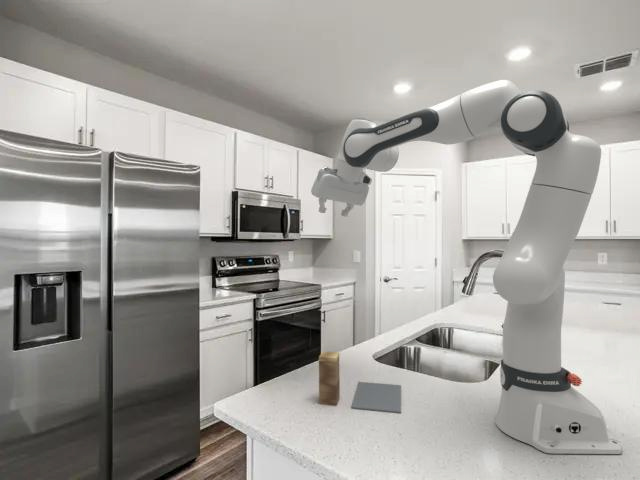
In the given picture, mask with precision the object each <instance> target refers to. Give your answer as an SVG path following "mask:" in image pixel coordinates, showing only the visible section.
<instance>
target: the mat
mask: <svg viewBox="0 0 640 480" xmlns="http://www.w3.org/2000/svg"><path fill="white" fill-rule="evenodd" d="M350 408H351V409H353V410H363V411H364V410H365V411H371V412H374V411H375V412H384V413H395V414H401V413H402V385H401V384H393V383H381V382H380V383H377V382H367V381H358V383H357V386H356V389H355V393H354V396H353V399H352V403H351V405H350Z"/></svg>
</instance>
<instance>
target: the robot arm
mask: <svg viewBox="0 0 640 480" xmlns="http://www.w3.org/2000/svg"><path fill="white" fill-rule="evenodd" d="M496 131H497V132H498V131H499V132H500V131H501V132H502V133H503V135H504V136H505V138H506V139H507V140H508V141H509V142H510V143H511V144H512V146H513V147H515V148H516V150H519V151H520V152H523V153H524V154H525V155H528V156H531V157H535V158H536V159H535V160H536V166H535V167H536V168H535V171H534V175H533V178H532V180H531V184H530V186H529V189H528V192H527V195H526V198H525V202H524V205H523V206H522V207H523V208H522V211H521V214H520V216H519V219H518V221H517V224H516V225H515V228H514V230H513V232H512V234H511V236H510V238H509V239H508V242H507V244H506V247H504V251H503V253H502V254H501V258H500V261H499V262H498V264H497V266H496V267H495V269H494V271H493V273H492V274H493V275H492V282H493V288H494V289H495V291H496V293H498V295H499V296H500V297H501V298H502V299H503V300H505V301H507V305H506V311H505V312H506V313H505V317H504V321H503V324H502V359H501V360H500V369H499V372H500V373H499V375H500V377H499V378H500V384H501V395H500V399H499V407H498V410H497V413H496V415H495V420H494V422H495V425H496V426H497V428H498V429H499V430H500V431H502V432H503V433H505V434H506V435H508V436H509V437H511V438H513V439H515V440H518V441H521V442H523V443H525V444H527V445H530V446H532V447H534V448H535V449H536V450H539V451H541V452H543V453H546V454H559V455H560V454H561V455H563V454H566V455H567V454H569V455H570V454H571V455H572V454H575V455H622V453H623V445H622V442H621V441H620V439H619V438H618V437H617V436H616V434H615V433H613V431H612V430H610V429H609V427H608V428H607V424H606V420H605V417H604V414H603V413H602V412H601V410H600V408H599V407H598V406H596V405H595V404H594V403H593V402H592V401H591V400H590V399H588V398H587V397H586V396H584V395H583V394H582V393H580V392H579V391H578V390H577V389H576V388H574V387H580V386H581V385H583V384H582V382H583V381H582V378H580V377H579V376H578V375H577V374H575V373H572V372H570V371H569V370H567V369H566V368H564V367H562V326H563V325H562V323H563V314H564V304H565V301H564V300H565V286H566V285H565V283H566V274H565V268H564V265H565V262H566V260H567V257H568V255H569V253H570V251H571V249H572V246H573V245H574V242H575V240H576V239H577V236H578V234H579V232H580V229H581V227H582V223H583V221H584V218H585V215H586V213H587V210H588V207H589V204H590V201H591V199H592V197H593V192H594V190H595V187H596V184H597V180H598V176H599V171H600V166H601V159H602V148H601V146H600V144H599V143H598V142H597V141H596V140H595V139H593V138H590V137H589V136H586V135H581V134H576V133H575V134H574V133H571V132H570V125H569V122H568V120H567V113H566V112H565V110H564V108H563V106H562V105H561V103H560V102H559V100H558V99H557V98H556V97H555V96H553V94H550V93H548V92H547V91H545V90H544V91H543V90H537V89H532V90H531V89H530V90H527V91H523V92H521V91H520V89H519V88H518V87H517V85H515V83H514V82H513V81H510V80H508V79H499V80H495V81H492V82H488V83H485V84H482V85H479V86H477V87H474V88H472V89H469V90H467V91H464V92H462V93H460V94H458V95H456V96H453V97H452V98H448V99H447V100H445V101H442V102H440V103H437V104H435V105H432V106H429V107H426V108H423V109H421V110H417V111H414V112H410V113H408V114H406V115H405V114H404V115H403V116H401V117H398V118H395V119H392V120H390V121H388V122H385V123H383V124H380V125H378V126H377V124H376V122H374V121H372V120H368V119H365V118H355V119H352V120H351V121H350V122H349V124H348V126H347V128H346V130H345V132H344V135H343V138H342V140H341V144H340V151H339V153H338V155H337V157H336V158H335V162H334V165H333V168H332V167H331V168H329V167H328V166H324V167H322V168H320V169H319V170H318V171H317V176H316V177H315V180H314V182H313V184H312V187H311V190H310V192H311V195H313V196H314V197H316V198H318V204H319V208H318V212H319V213H321V214H326V211H327V207H326V206H325V203H326V202H327V201H328V200H329V201H334V202H339V203H345V204H346V207H345V208H344V209H342V210H341V212H340V215H341V216H342V217H348V216H349V213H350V212H351V211H352V210H353V209H354V207H355V206H359V207H360V206H363V205H364V204H365V203H366V200H367V198H368V195H369V191H370V186H371V184H372V182H373V178H371V177H370V176H369V175H368V174H367V173H365V172H364V169H367V170H370V171H375V172H379V173H380V172H381V173H382V172H383V173H384V172H389V171H390V170H392V169H393V168H394V167H395V165H396V164H397V163H398V160H399V148H398V147H400V146H402V145H404V144H407V143H410V142H418V141H419V142H420V141H421V142H431V143H437V144H442V145H447V146H448V145H455V144H460V143H461V144H462V143H464V142H468V141H471V140H474V139H476V138H479V137H481V136H484V135H486V134H489V133H491V132H496ZM573 386H574V387H573Z"/></svg>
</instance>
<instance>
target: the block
mask: <svg viewBox="0 0 640 480" xmlns="http://www.w3.org/2000/svg"><path fill="white" fill-rule="evenodd" d="M340 379H341V378H340V352H336V351H322V352H321V353H320V355H319V356H318V401H319V402H318V404H319V405H324V406H334V407H335V406H336V407H337V405H338V403H339V401H340V398H341V397H340V393H341V392H340V391H341V389H340V388H341V386H340V382H341V381H340Z"/></svg>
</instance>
